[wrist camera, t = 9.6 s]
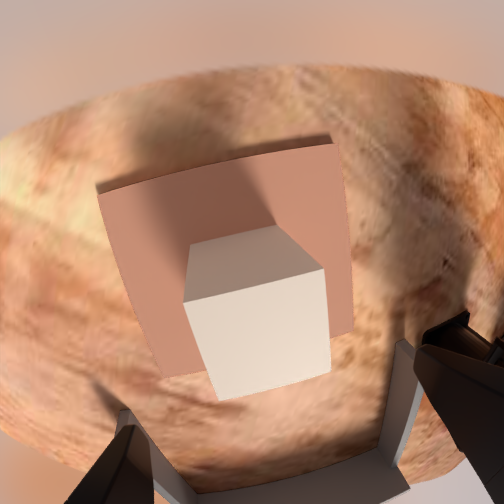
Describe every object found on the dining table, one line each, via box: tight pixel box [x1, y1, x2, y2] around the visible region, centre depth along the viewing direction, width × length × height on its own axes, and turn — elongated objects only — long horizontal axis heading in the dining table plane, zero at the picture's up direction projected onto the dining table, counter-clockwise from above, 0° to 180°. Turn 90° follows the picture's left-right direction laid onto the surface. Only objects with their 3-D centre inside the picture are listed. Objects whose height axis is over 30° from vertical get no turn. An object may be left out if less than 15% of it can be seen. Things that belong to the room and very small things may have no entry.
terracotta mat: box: [97, 143, 354, 378], centre depth 18 cm, size 14×13×1 cm
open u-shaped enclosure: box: [114, 339, 424, 504], centre depth 21 cm, size 25×19×8 cm
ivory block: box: [183, 225, 331, 401], centre depth 14 cm, size 5×5×7 cm
